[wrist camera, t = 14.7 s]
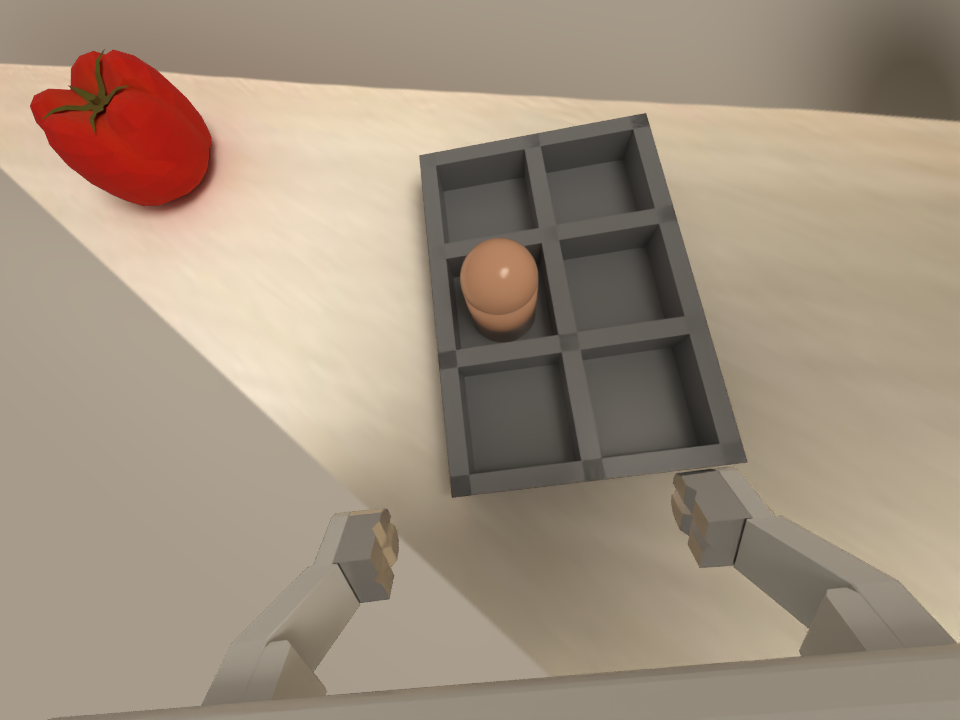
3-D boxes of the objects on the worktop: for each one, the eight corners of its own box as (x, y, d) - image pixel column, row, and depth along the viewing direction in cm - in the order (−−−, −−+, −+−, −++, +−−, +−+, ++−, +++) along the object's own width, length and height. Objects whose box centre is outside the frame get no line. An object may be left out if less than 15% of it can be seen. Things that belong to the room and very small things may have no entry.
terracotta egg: (530, 278, 30) (532, 214, 22) (540, 337, 29) (546, 291, 21) (468, 288, 31) (449, 228, 23) (475, 346, 29) (458, 305, 22)
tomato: (158, 244, 36) (42, 175, 28) (108, 166, 39) (-11, 81, 31) (253, 174, 37) (169, 85, 28) (195, 103, 40) (105, 3, 32)
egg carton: (631, 153, 33) (646, 113, 29) (715, 462, 26) (747, 462, 23) (431, 189, 34) (419, 155, 31) (462, 492, 28) (452, 497, 24)
